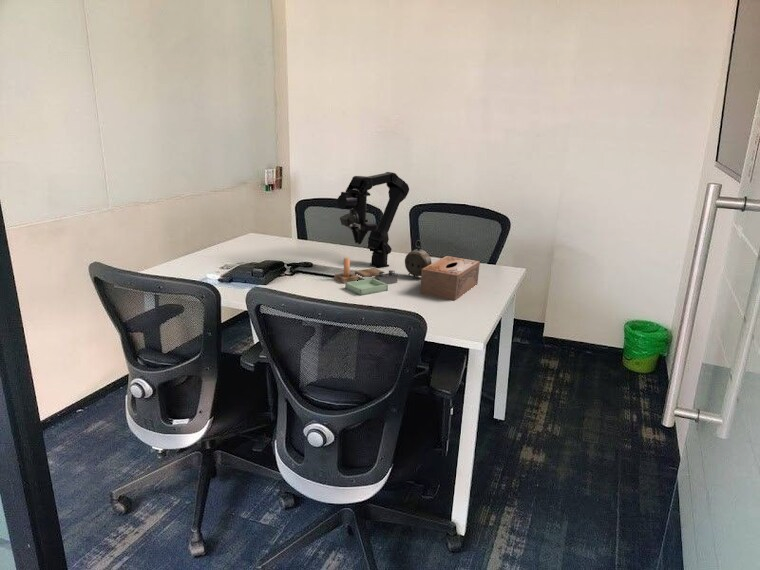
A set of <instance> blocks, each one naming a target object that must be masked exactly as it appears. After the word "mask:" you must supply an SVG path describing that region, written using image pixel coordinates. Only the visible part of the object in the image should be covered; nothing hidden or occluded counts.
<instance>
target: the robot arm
mask: <svg viewBox="0 0 760 570" xmlns="http://www.w3.org/2000/svg"><path fill="white" fill-rule="evenodd" d="M384 184H386V187H387V188H388V198H389V199H388V201H387V203H386V207H385V209H384V212H383V214H382V217H381V219H380V220H379V221H380V222H379V224H378V225H377V223H375V222H372V221H369V220H368V219H367V213H369V209H367V200H368V199H367V198H368V197H369V196H371V193H370V192H369V191H370V190H371V189H373V187H375V186H380V185H384ZM409 192H410V187H409V184H408V183H407V182H406V181H404V180H403V179H402V178H401V177H399V176H398V174H397V173H395V172H391V171H386V172H384V173H379V174H378V173H377V174H374V175H369V176H366V175H365V176H363V175H354V176H353V177H352V178H351V180H350V182H349V184H348V186H347V187H346V189H345V191H341V192H340V195H339V196H338V197H337V200H336V203H337V207H338V208H339V209H341V210H345V209H349V212H348V213H345V214H344V215H342V216H340V217H339V220H340V223H341V226H344V227H347V228H348V229H349V230H350V231H351V233H352V237H353V240H354V242H355V244H358V245H362V243H363V241H364V238H365V237H366V235H367V234H368V232H370V233H369V236H368V238H367V244H368V247H369V251H370V252H371V253H372V255H371V262H370V263H369V265H370V266H373V267H374V268H376V269H378V268H385V267H389V266H390V264H388V255H389V254H391V252H392V247H391V246H390V244H389V240H390V239H389V231H390V228H391V227H392V223H393V220H394V218H395V216H396V213H397V211H398V208H399V205H400V203H402V201H404V200H405V199H406V198H407V196H408V194H409Z"/></svg>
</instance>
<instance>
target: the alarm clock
mask: <svg viewBox="0 0 760 570" xmlns="http://www.w3.org/2000/svg"><path fill="white" fill-rule="evenodd" d="M418 242H420V243H421V246H417V243H418ZM423 245H424V244H423V241H422V240H420V239H418V240H416V241H415V247H416V249H414V250H412V251H410V252H408V253H407V254H406V256H405V258H404V267H405V269H406V270H407V272H408V274H407V275H408V276H410V275H412V279H415V277H421V271H422V269H423V268H425V267H427V266H428V265H430V264H432V263H433V262H432V259H431V256H430V254H429V253H428V252H427V251H426V250H424V249H421V248H422V247H423Z"/></svg>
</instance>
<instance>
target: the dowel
mask: <svg viewBox="0 0 760 570" xmlns="http://www.w3.org/2000/svg"><path fill="white" fill-rule="evenodd" d="M350 264H351V258H349V257H345V258H343V277H349V273H351V272H350V268H351V267H350V266H351V265H350Z"/></svg>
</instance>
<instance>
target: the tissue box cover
mask: <svg viewBox="0 0 760 570" xmlns="http://www.w3.org/2000/svg"><path fill="white" fill-rule="evenodd" d="M480 262H481V261H479V260H473V259H467V258H460V257H455V256H450V255H446V256H444V257H442V258H440V259H438V260H437V261H434V262H431V263H432V264H430V265H428V266H427V267H425V268H423V269H422V271H421V276H420V288H419V294H421V295H426V296H429V297H434V298H441V299H445V300H449V301H454V302H456V301H457V300H458V299H460V298H461V297H462V296H464V295H466V293H467V291H468V292H469V291H471V290H472V289H473V288H474V286H475V285H476V286H477V285H478V283H479V274H480V264H481V263H480ZM476 286H475V287H476ZM471 288H472V289H471ZM463 294H464V295H463Z"/></svg>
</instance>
